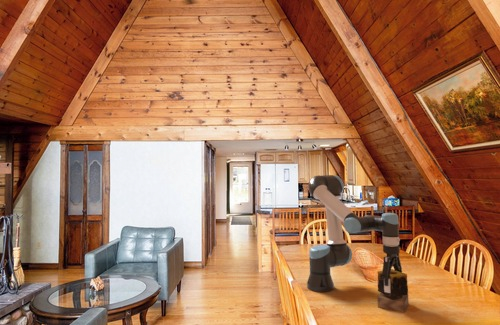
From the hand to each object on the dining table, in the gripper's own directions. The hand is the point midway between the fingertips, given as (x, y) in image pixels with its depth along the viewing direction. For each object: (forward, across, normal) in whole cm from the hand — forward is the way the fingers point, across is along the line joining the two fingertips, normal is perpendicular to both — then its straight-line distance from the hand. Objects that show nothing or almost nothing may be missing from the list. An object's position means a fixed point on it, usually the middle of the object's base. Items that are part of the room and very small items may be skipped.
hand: (392, 288), depth 163 cm
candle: (+2, 0, 0) cm, 2 cm away
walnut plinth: (+8, 0, 0) cm, 8 cm away
